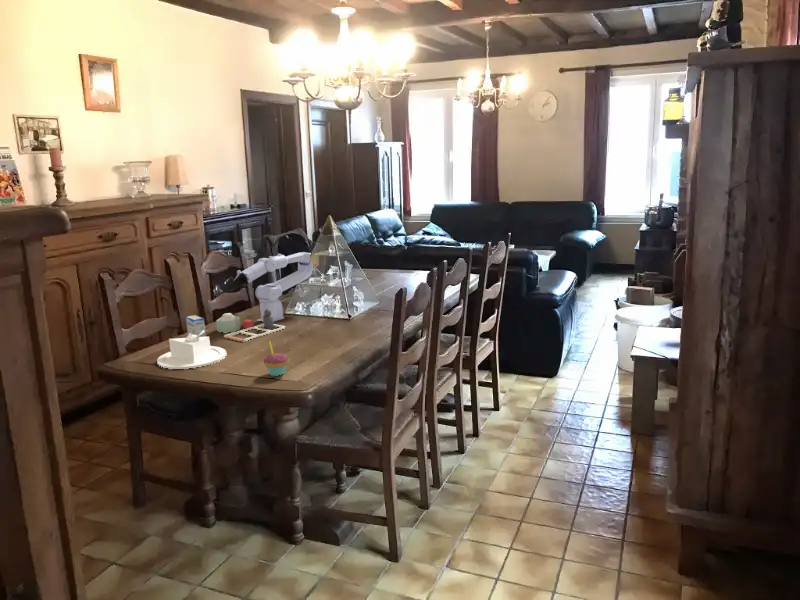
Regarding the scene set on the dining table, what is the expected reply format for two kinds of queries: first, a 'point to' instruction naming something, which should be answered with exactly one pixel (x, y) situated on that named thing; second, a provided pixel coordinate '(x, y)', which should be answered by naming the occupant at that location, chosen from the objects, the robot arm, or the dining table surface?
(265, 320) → the pawn
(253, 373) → the dining table surface
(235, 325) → the dome base
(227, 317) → the dome
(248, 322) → the red die
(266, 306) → the robot arm
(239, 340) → the game track
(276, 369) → the cupcake
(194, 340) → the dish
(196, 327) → the medicine box
